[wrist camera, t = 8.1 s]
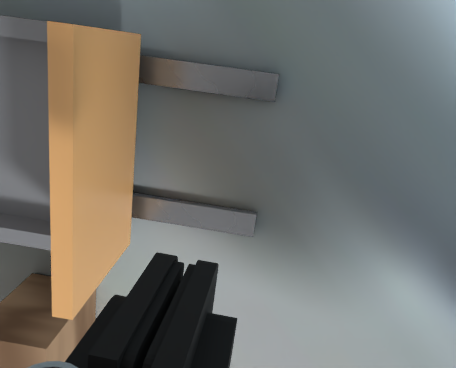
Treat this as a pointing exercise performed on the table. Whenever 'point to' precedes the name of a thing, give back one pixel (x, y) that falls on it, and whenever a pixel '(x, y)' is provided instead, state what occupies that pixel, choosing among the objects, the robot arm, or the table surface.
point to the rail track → (212, 83)
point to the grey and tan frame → (68, 148)
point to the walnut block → (38, 325)
